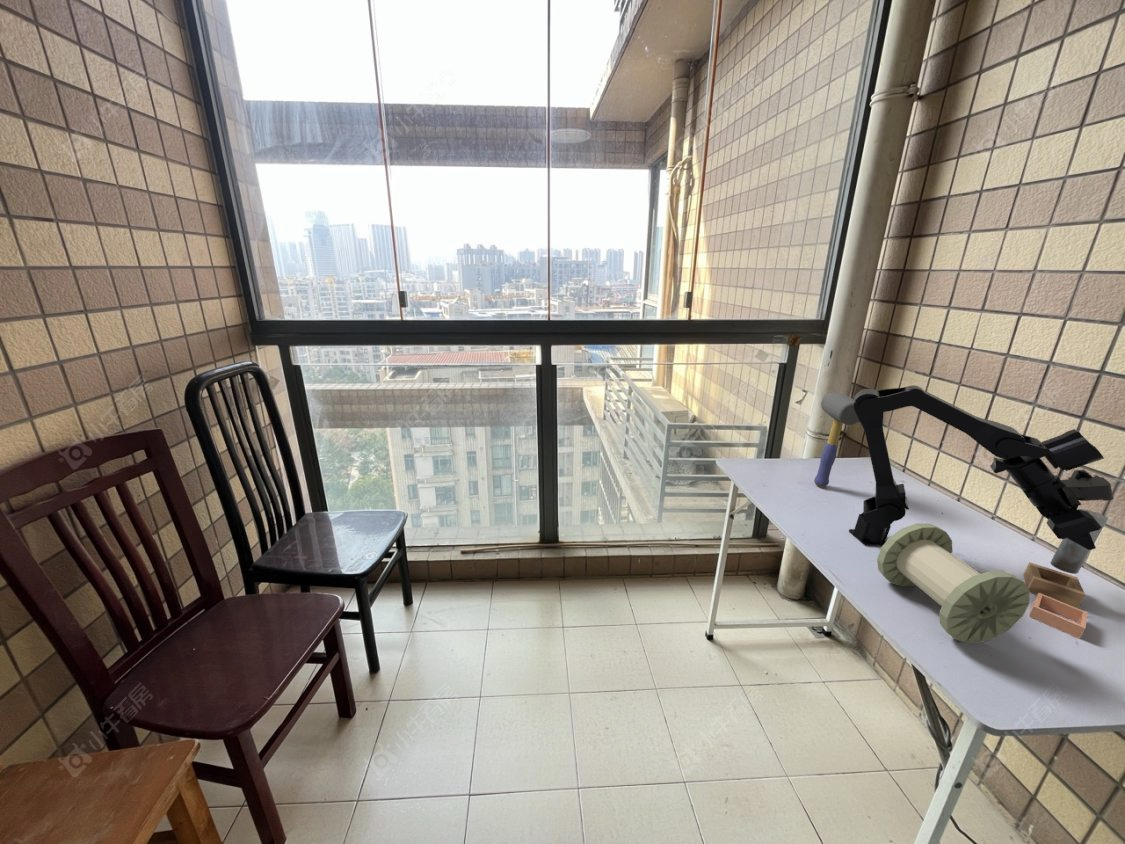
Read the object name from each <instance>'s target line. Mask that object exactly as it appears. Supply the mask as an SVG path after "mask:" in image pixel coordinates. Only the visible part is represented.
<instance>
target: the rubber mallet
mask: <svg viewBox="0 0 1125 844" xmlns="http://www.w3.org/2000/svg"><path fill="white" fill-rule="evenodd" d="M820 406H821V409H822V410H823V412H825V413H826V414H827V415H828V416H829V417H830V418H832V419H833V421H832V425H831V428H830V432H829V435H828V439H827V441H826V443H825V445H824V447H823V450H822V451H821V452H822V453H821V454H820V462H819V466H818V469H817V474H816V476H815V477H814V479H813V480H814V481H813V482H814V484H815V486H817V487H818V488H826V487H827V486H828V485H829V484H830V475H831V471H832V467H833V466H834V463H835V461H836V458H837V451H838V442H839V438H840V434H841V431H842V426H843V425H847V426H853V425H855V424H858V423H860V421H859V419H858V417H857V415H856V413H855V410H854V398H852V397H850V396H848V395H846V394H844V393H840V392H837V391H833V392H832V391H831V392H828V393H827V394H825V395H824V396H823V397H822V398H821V401H820Z"/></svg>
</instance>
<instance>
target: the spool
mask: <svg viewBox="0 0 1125 844" xmlns="http://www.w3.org/2000/svg"><path fill="white" fill-rule="evenodd" d="M952 553H953V540H952V539H951V537H950V535H949V534H948V533H947V531H945V530H944V529H943V528H941V527H938V526H936V525H934V524H932V523H927V522H925V523H924V522H922V523H920V522H919V523H916V522H915V523H914V524H911V525H907V526H905V527H902V528H900V530H898V531H896V532H895V533H894V534H892V535H891V536H890V537H888V539H886V542H885V544H884V545H883V546H881V548H880V551H879V553H878V555H877V558H876V561H877V569H878V572H879V573H880V574H881V575H882V576H883V577H884V579H886V580H887V581H888V582H889V583H891V584H893V585H897V586H899V587H908V585H909V587H911V586H910V585H914V586H916V587H918V588H919V589H920V590H921V591H923V592H924V593H925V594H926V595H927V596H929V597H930V598H931V599H932V600H933V601H934V602H936V603H937V604H938V605H939V606H941V608H940V610H939V624H940V625H941V627H942V628H943V629H944V631H945V632H946V633H947V634H948V635H949V636H951V637H952V638H953V640H954V639H955V640H957V641H959V642H962V643H967V644H968V643H969V644H970V643H983V642H986V641H988V640H989V641H990V640H993V639H994V638H997V637H999V636H1000V635H1003V634H1004V633H1006V632H1008V631H1009V630H1010V629H1012V628H1013V627H1014V626H1015V625H1016V624H1017V623H1018V622H1019V621H1020V620H1021V619H1022V617H1024V615H1025V613H1026V610H1027V609H1028V607H1029V605H1030V599H1031V598H1030V597H1031V593H1030V591H1029V589H1028V587H1027V586H1026V584H1025V581H1024V580H1022V579H1020V578H1019V577H1018V576H1015V575H1013V574H1011V573H1009V572H1006V571H1004V570H991V571H990V570H988V571H985V572H983V573H980V572H979V571H977V570H976V569H974V567H971V566H969V565H968V564H967V563H965V562H964V561H963V560H961V559H959V558H958V557H957V556H955V555H954V554H952Z"/></svg>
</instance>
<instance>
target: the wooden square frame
mask: <svg viewBox="0 0 1125 844" xmlns="http://www.w3.org/2000/svg"><path fill="white" fill-rule="evenodd" d="M1022 576H1023V581H1024V583H1025V584H1026V586H1027V587H1028V589H1029V591H1030V594H1033V595H1036V596H1037V595H1038V593H1041V594H1044V595H1046V596H1048V597H1051V598H1053V599H1056V600H1058V601H1061V602H1063V603H1066V604H1068V605H1070V606H1073V607H1075V608H1078V609H1080V608H1079V607H1080V606H1081V604H1082V602H1083V600H1085V597H1086V593H1085V591H1084V588H1083V587H1082V585H1081V582H1080V580H1079V577H1078V576H1074V575H1072V574H1070V573H1069V574H1068V573H1066V572H1063V571H1062V572H1061V571H1059V570H1055V569H1051V568H1050V567H1045V566H1042V565H1039V564H1037V563H1034V562H1031V561H1030V562H1028V564H1027V566H1026V568H1025V569H1024V572H1023V573H1022Z"/></svg>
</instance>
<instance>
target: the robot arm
mask: <svg viewBox="0 0 1125 844" xmlns="http://www.w3.org/2000/svg"><path fill="white" fill-rule="evenodd" d="M853 400H854V410H855V413H856V415H857V417H858V419H859V423H860V425H861V426H862V428H863V430H864V434H865V437H866V444H867V448H868V453H869V457H870V462H871V466H872V471H873V476H874V480H875V493H874V494H875V495H874V496H872V497H869V498H867V499H863V511H862V513H859V514H858V517H857V520H856V523H855V527H854V528H853V529H852V528H850V529H848V532H849V533H850V534H851V535H853V537H854V538H856V539H857V540H858V541H860V542H861V543H862V544H863V545H864V546H867V547H869V546H870V547H871V546H872V547H873V546H875V547H876V546H877V547H878V546H881V547H882V546H883V545H884V544H885V542H886V541H887V540H888V539H887V538H888V535H889V533H890V531H891V530H890V529H891V528H892V526H891V525H892V524H893V523H894V522H896V521H897V522H898V521H900V520H902V519H903V518H904V517H906V512H907V511H906V510H909V509H910V507H909V502H908V497H907V496H906V489H905V483H899V484H898V483H897V482H896V480H895V478H894V474H893V469H892V465H891V459H890V456H889V450H888V446H887V441H886V437H885V436H886V435H885V432H884V413H886V412H892V411H895V410H899V409H904V408H907V407H913V408H915V409H918V410H920V411H921V412H923V413H926V414H928V415H930V416H931V417H934V418H936V419H937V420H939V421H941V422H943V423H945V424H947V425H948V426H951V427H953V428H955V429H957V430H958V431H961V432H963V433H965V434H966V435H967V436H969V437H970V438H971V439H973V440H974V441H975V442H976V443H978V444H979V445H980V446H981V447H983V448H984V449H985V450H986V451H988V452H989V453H990V454H992V455H994V457H993V460H992V461H993V462H992V463H991V464H990V466H989V467H990V469H991V470H992V472H993V473H995V474H999V473H1002V472H1005V471H1006V472H1007V474H1009V476H1010V478H1012V480H1013V481H1014V482H1015V483H1016V484H1017V486H1018V487H1019V488H1020V490H1021V491H1022V492H1023V494H1024V495H1025V496H1026V498H1027V499H1028V501H1029V502H1030V503H1031V504H1032V505H1033V506H1034V507H1035V508H1036V509H1037V511H1038V512H1039V514H1040V515H1041V517H1043V518H1045V519H1047V521H1046V525H1047V526H1048V527H1049V530H1051V531H1052V532H1053V534H1054V535H1055V536H1056V538H1057V539H1058V540H1062V539H1066V538H1068V539H1070V540H1071V541H1073V542H1075V543H1077V544H1079V545H1081V546H1082V547H1084V548H1086V549H1088V550H1096V548H1097V547H1096V545H1095V543H1094V542H1093V540H1092V537H1091V535H1090V533H1089V532H1093V531H1097V530H1100V529H1101V528H1102V527H1101V526H1100V525H1099V523H1098V522H1097V521H1096V520H1095V519H1094V518H1093V517H1092V515H1091V514H1090V513H1089V512H1087V511H1083V510H1079V509H1080V508H1079V506H1081V505H1083V504H1082V503H1081V501H1083V502H1084V501H1085V502H1087V501H1104V502H1106V501H1112V500H1114V494H1113V490H1112V484H1111V483H1110V481H1108V480H1107V479H1105V477H1102V476H1099V475H1098V474H1095V475H1094V476H1092V475H1091V474H1090V473H1089V472H1088V471H1086V470H1085V469H1077V468H1080V467H1083V466H1087V465H1089V464H1092V463H1095V462H1099V461H1101V460H1105V457H1104V456H1103V454H1102V453H1101V452H1100V451H1099V449H1098V448H1097V447H1096V446H1095V445H1093V444H1092V443H1091V442H1090V441H1089V440H1088V439H1087V438H1085V437H1084V436H1083V435H1082V433H1081V432H1080V431H1079V430H1077V429H1075V428H1074V429H1073V428H1072V429H1070V430H1068V431H1066V432H1064V433H1061V434H1059V435H1057V436H1054V437H1052V438H1049V439H1047V440H1043V441H1041V440H1040V439H1038V438H1036V437H1032V436H1029V435H1025V434H1022V433H1020V432H1019V431H1018V430H1017V429H1016V428H1014V427H1013V426H1009V425H1006V424H1004V423H1000V422H997V421H994V420H991V419H985V418H981V417H978V416H977V415H974V414H972V413H970V412H968V411H966V410H964V409H962V408H960V407H958V406H956V405H954V404H952V403H950V402H948V401H946V400H945V399H942V398H940V397H938V396H936V395H934V394H932V393H930V392H929V391H926V390H924V389H923V388H922V387H921V386H919V385H909V386H904V387H897V388H896V387H893V388H883V389H878V390H876V389H873V388H864V389H861V390H860V391H858V392H857V393H856V394H855V395H854V398H853ZM1042 458H1045V460H1046V461H1047V462H1048V463H1049V464H1050V465H1051V466H1052V468H1053V469H1054V470H1056V469H1060V470H1061V471H1065V472H1068V471H1070V470H1074V471H1073V472H1072V474H1071V476H1070V477H1068V476H1067V479H1060V478H1059V476H1058V475H1055V474H1054V473H1053V472H1052V471H1051V470H1050V468H1049V467H1048V466H1047V464H1046V463H1045V462H1044V461H1043V460H1042ZM1078 508H1079V509H1078Z"/></svg>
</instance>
